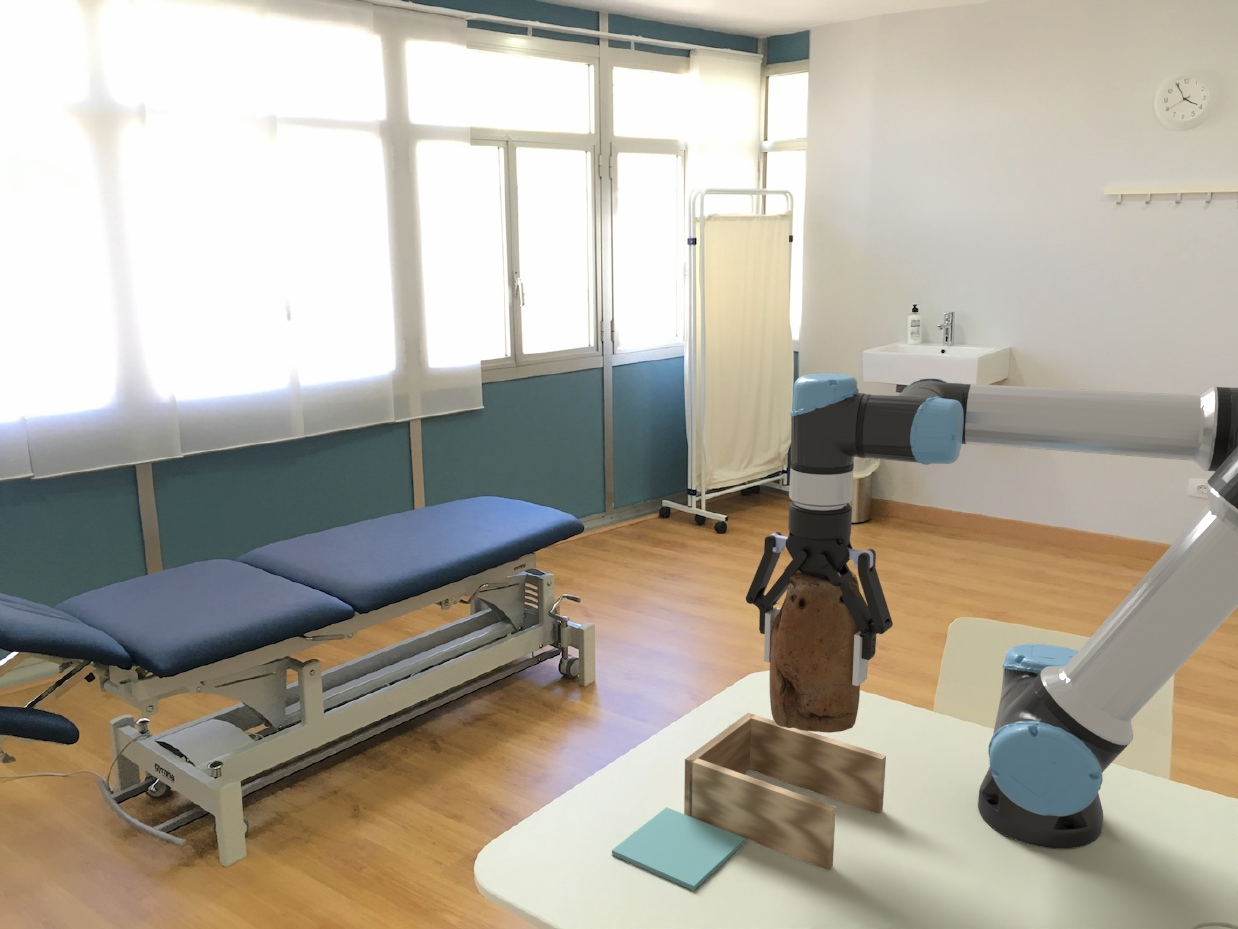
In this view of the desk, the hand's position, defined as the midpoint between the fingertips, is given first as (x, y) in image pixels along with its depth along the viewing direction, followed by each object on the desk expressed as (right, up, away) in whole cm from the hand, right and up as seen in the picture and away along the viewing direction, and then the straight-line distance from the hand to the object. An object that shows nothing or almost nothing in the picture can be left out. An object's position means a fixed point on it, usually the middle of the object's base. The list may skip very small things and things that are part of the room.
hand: (814, 669), depth 130 cm
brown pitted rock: (0, -7, +2) cm, 7 cm away
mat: (-17, -22, -1) cm, 28 cm away
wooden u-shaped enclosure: (-3, -20, +7) cm, 22 cm away
